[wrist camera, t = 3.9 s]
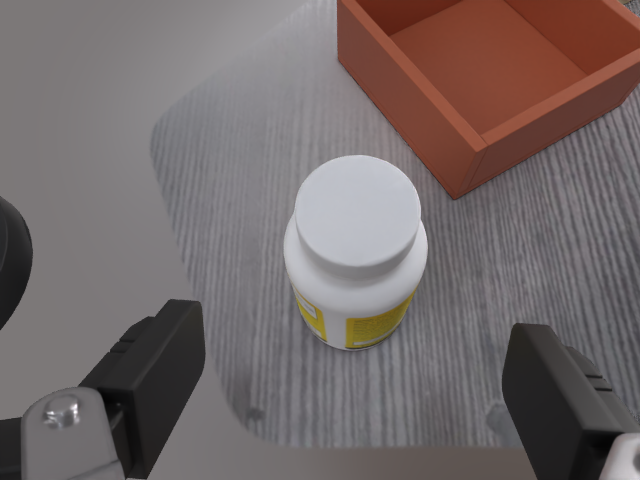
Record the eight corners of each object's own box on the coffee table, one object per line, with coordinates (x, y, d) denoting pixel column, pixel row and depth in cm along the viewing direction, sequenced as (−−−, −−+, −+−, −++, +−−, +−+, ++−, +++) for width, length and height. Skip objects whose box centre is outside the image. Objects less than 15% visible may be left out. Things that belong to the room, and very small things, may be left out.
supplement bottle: (418, 268, 24) (465, 162, 15) (386, 368, 22) (418, 318, 13) (320, 236, 24) (308, 119, 16) (282, 329, 23) (242, 256, 14)
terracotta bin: (454, 200, 25) (476, 152, 21) (337, 59, 30) (336, -5, 25) (621, 104, 27) (673, 43, 23) (488, -14, 32) (511, -84, 27)
